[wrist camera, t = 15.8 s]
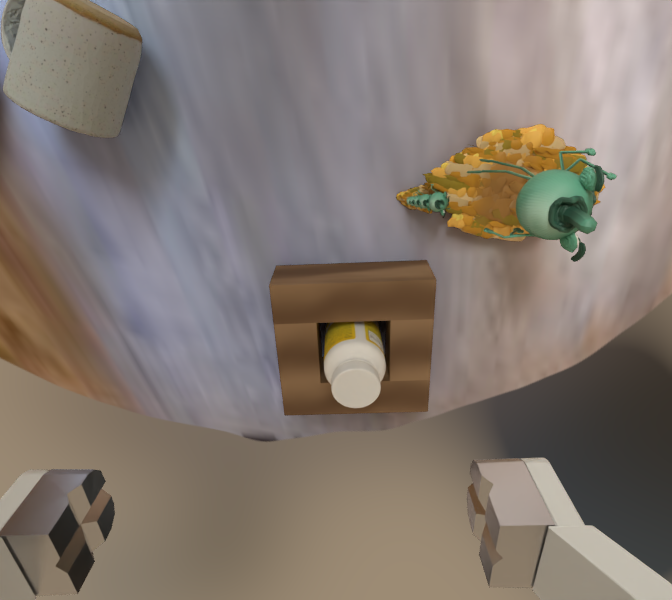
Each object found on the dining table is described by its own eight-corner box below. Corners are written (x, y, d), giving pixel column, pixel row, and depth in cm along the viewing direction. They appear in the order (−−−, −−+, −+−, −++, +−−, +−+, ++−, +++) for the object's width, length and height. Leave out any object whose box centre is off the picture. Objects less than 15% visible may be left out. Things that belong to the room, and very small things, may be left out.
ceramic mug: (163, 36, 33) (116, 22, 26) (134, 135, 36) (86, 146, 29) (25, -39, 31) (-64, -75, 24) (7, 72, 34) (-75, 68, 27)
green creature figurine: (406, 107, 35) (480, 119, 22) (608, 132, 38) (784, 157, 24) (387, 223, 39) (439, 294, 26) (570, 239, 42) (703, 310, 28)
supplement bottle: (320, 344, 45) (315, 408, 36) (332, 298, 42) (330, 354, 33) (371, 355, 45) (379, 420, 36) (386, 310, 43) (398, 368, 34)
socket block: (276, 265, 41) (269, 285, 37) (426, 260, 40) (436, 279, 36) (289, 387, 47) (284, 415, 43) (420, 383, 47) (427, 411, 43)
